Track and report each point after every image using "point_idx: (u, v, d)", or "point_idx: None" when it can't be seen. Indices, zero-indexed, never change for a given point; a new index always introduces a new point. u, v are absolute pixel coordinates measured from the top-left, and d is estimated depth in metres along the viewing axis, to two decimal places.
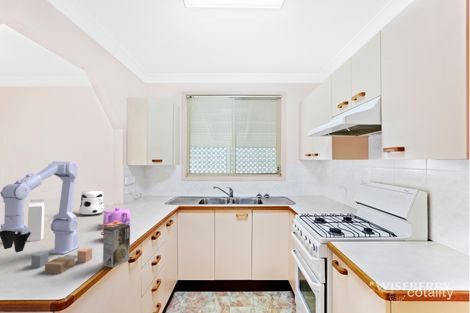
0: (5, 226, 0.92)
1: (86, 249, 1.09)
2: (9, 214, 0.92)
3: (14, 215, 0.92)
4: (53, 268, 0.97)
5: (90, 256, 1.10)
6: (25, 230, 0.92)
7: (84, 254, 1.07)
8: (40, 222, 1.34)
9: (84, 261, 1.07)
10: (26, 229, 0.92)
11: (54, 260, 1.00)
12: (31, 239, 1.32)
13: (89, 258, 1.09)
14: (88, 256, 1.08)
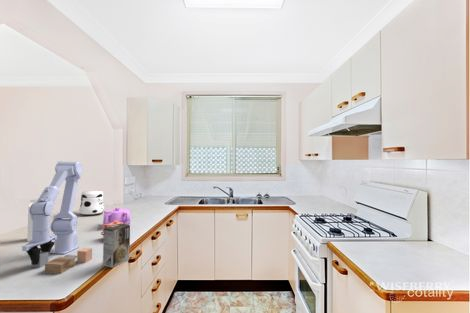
0: None
1: (86, 249, 1.09)
2: (38, 229, 1.01)
3: (42, 230, 1.02)
4: (53, 268, 0.97)
5: (90, 256, 1.10)
6: (24, 248, 0.96)
7: (84, 254, 1.07)
8: None
9: (84, 261, 1.07)
10: (25, 247, 0.96)
11: (54, 260, 1.00)
12: (31, 239, 1.32)
13: (89, 258, 1.09)
14: (88, 256, 1.08)
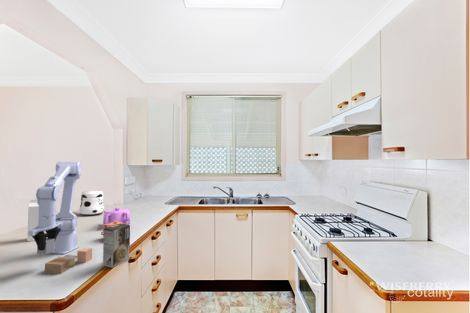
0: None
1: (86, 249, 1.09)
2: (46, 214, 0.99)
3: (50, 215, 1.00)
4: (53, 268, 0.97)
5: (90, 256, 1.10)
6: (30, 232, 0.94)
7: (84, 254, 1.07)
8: None
9: (84, 261, 1.07)
10: (31, 232, 0.94)
11: (54, 260, 1.00)
12: (31, 239, 1.32)
13: (89, 258, 1.09)
14: (88, 256, 1.08)
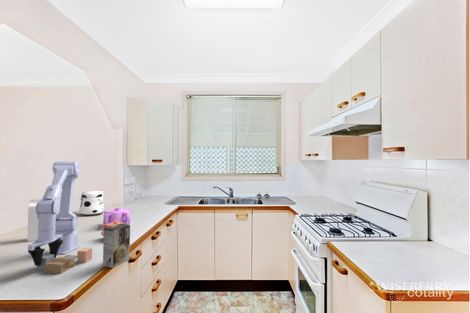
0: None
1: (86, 249, 1.09)
2: (46, 228, 0.99)
3: (50, 229, 1.00)
4: (53, 268, 0.97)
5: (90, 256, 1.10)
6: (30, 247, 0.94)
7: (84, 254, 1.07)
8: None
9: (84, 261, 1.07)
10: (31, 246, 0.94)
11: (54, 260, 1.00)
12: (31, 239, 1.32)
13: (89, 258, 1.09)
14: (88, 256, 1.08)
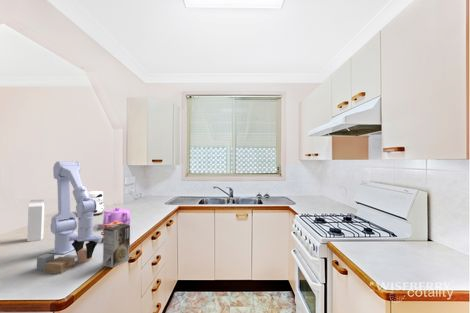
0: (81, 237, 1.06)
1: (86, 249, 1.09)
2: (90, 225, 1.08)
3: (92, 226, 1.10)
4: (53, 268, 0.97)
5: None
6: (100, 239, 1.08)
7: (84, 254, 1.07)
8: (40, 222, 1.34)
9: (84, 261, 1.07)
10: (101, 238, 1.08)
11: (54, 260, 1.00)
12: (31, 239, 1.32)
13: (89, 258, 1.09)
14: None
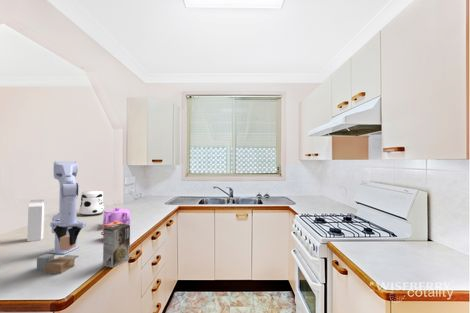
0: (63, 222, 1.00)
1: (69, 236, 1.03)
2: (71, 210, 1.01)
3: (74, 211, 1.02)
4: (53, 268, 0.97)
5: None
6: (84, 224, 1.02)
7: (67, 241, 1.00)
8: (40, 222, 1.34)
9: (67, 248, 1.00)
10: (84, 223, 1.02)
11: (54, 260, 1.00)
12: (31, 239, 1.32)
13: (72, 245, 1.03)
14: None
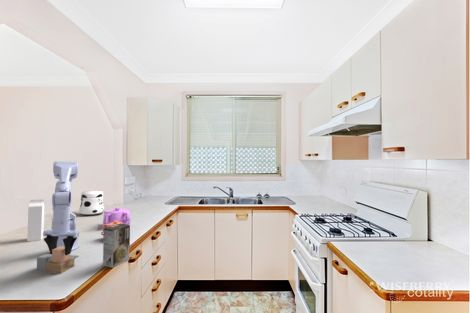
0: (55, 232, 0.98)
1: (62, 248, 1.00)
2: (63, 220, 0.98)
3: (67, 220, 1.00)
4: (53, 268, 0.97)
5: (66, 255, 1.01)
6: (77, 234, 1.00)
7: (60, 253, 0.98)
8: (40, 222, 1.34)
9: (59, 261, 0.98)
10: (78, 233, 1.00)
11: None
12: (31, 239, 1.32)
13: (65, 257, 1.00)
14: (64, 255, 1.00)
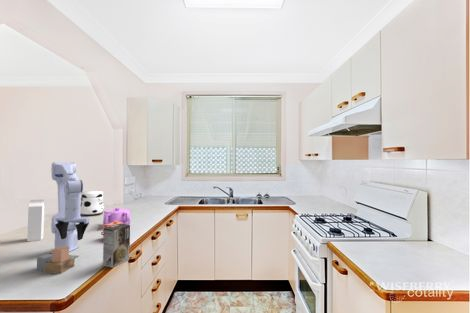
0: (67, 218, 1.04)
1: (62, 248, 1.00)
2: (76, 206, 1.05)
3: (79, 207, 1.06)
4: (53, 268, 0.97)
5: (66, 255, 1.01)
6: (88, 220, 1.06)
7: (60, 253, 0.98)
8: (40, 222, 1.34)
9: (59, 261, 0.98)
10: (88, 219, 1.06)
11: None
12: (31, 239, 1.32)
13: (65, 257, 1.00)
14: (64, 255, 1.00)
